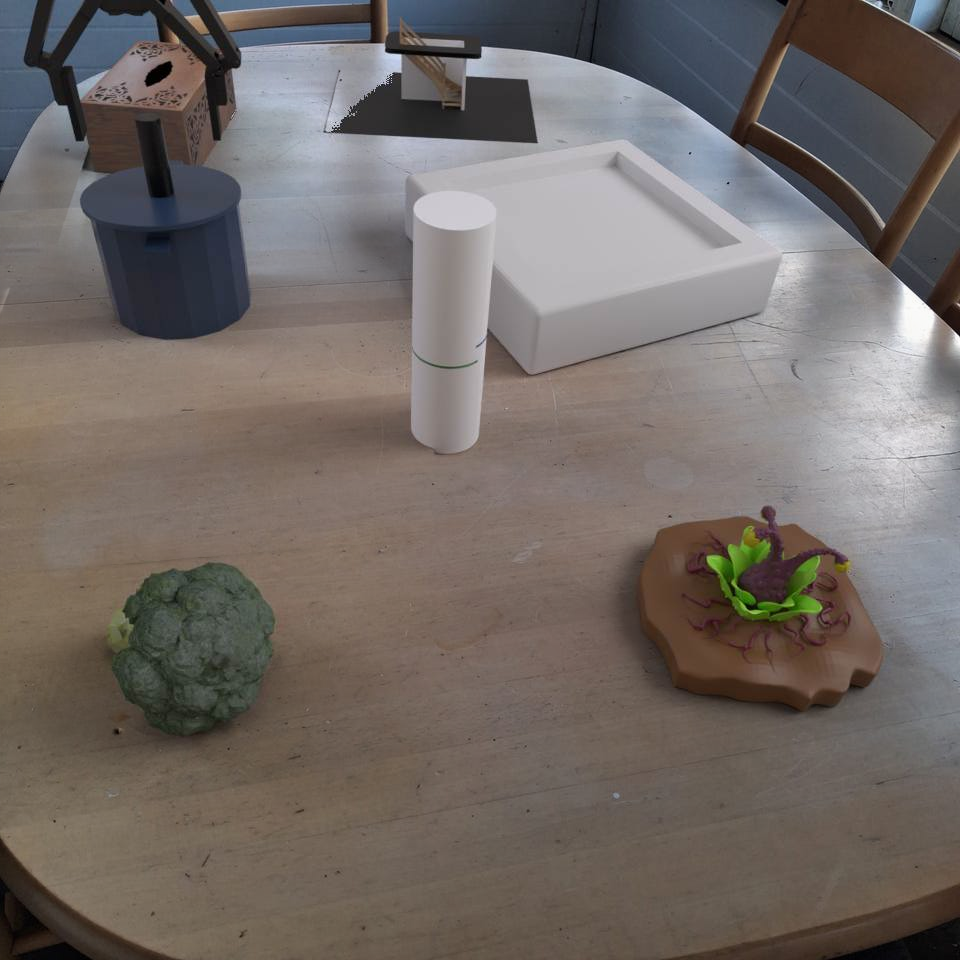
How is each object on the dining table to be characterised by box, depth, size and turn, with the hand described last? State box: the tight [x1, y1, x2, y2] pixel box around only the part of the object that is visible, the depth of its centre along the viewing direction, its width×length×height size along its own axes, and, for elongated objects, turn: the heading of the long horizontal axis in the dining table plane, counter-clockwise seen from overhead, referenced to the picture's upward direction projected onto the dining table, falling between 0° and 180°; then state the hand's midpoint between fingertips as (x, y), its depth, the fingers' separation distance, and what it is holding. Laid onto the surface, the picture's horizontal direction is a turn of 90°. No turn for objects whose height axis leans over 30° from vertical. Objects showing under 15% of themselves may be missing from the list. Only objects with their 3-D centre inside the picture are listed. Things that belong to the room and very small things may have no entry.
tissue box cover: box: [80, 40, 238, 174], centre depth 138 cm, size 26×14×10 cm, turn 177°
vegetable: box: [104, 561, 276, 738], centre depth 68 cm, size 12×13×15 cm
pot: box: [89, 161, 252, 341], centre depth 104 cm, size 16×21×14 cm
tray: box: [404, 138, 783, 375], centre depth 116 cm, size 35×35×9 cm
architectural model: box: [331, 17, 538, 144], centre depth 153 cm, size 35×28×14 cm
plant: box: [636, 505, 884, 713], centre depth 75 cm, size 20×20×11 cm
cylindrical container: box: [410, 191, 497, 455], centre depth 86 cm, size 7×7×25 cm
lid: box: [79, 113, 242, 232], centre depth 95 cm, size 17×17×9 cm
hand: (150, 135), depth 94 cm, fingers open, 13 cm apart
